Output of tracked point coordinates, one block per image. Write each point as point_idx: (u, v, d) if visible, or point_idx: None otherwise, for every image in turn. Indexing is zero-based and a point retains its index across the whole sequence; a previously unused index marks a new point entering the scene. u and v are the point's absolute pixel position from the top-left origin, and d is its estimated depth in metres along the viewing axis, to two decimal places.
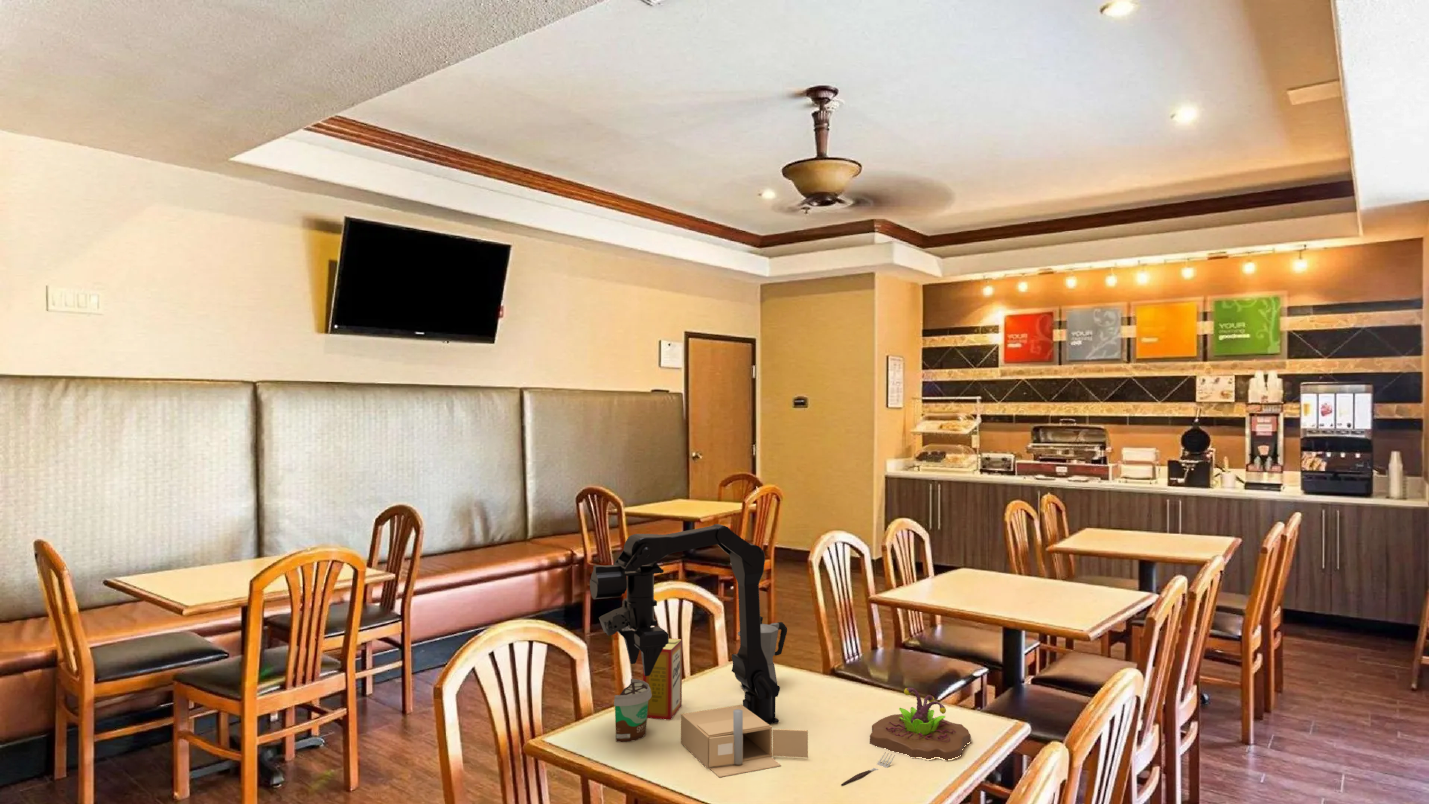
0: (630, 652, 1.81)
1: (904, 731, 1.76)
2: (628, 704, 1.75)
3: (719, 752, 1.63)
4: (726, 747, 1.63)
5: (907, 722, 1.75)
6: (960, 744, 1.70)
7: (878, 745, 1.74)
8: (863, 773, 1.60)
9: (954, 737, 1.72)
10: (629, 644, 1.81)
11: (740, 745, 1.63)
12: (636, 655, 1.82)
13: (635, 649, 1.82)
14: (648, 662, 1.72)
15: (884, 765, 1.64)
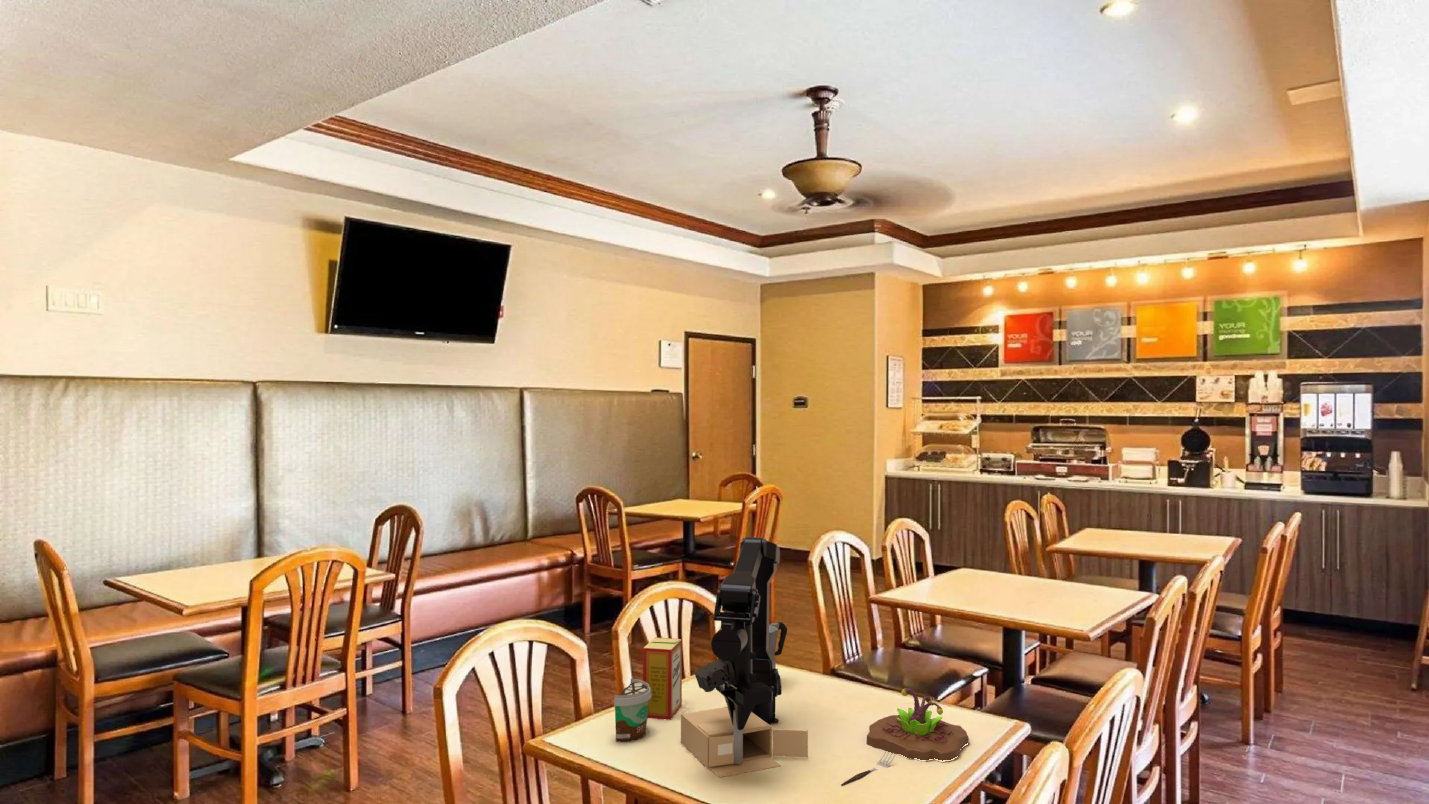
0: (732, 713, 1.65)
1: (901, 732, 1.75)
2: (628, 704, 1.75)
3: (719, 752, 1.63)
4: (726, 747, 1.63)
5: (904, 723, 1.75)
6: (957, 745, 1.69)
7: (875, 745, 1.73)
8: (863, 773, 1.60)
9: (951, 738, 1.71)
10: (731, 705, 1.65)
11: (740, 745, 1.63)
12: None
13: None
14: (742, 715, 1.62)
15: (884, 765, 1.64)
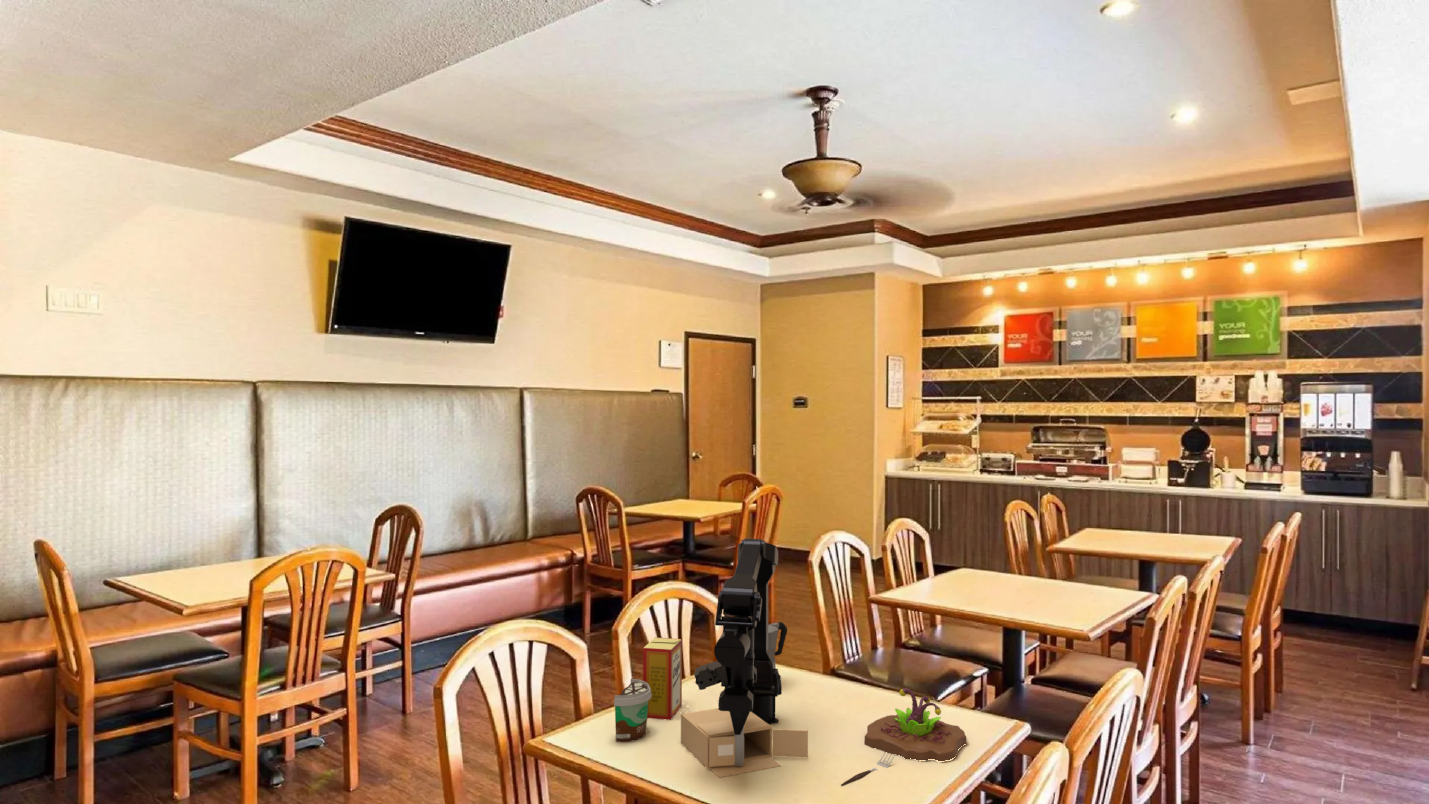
0: None
1: (899, 732, 1.75)
2: (628, 704, 1.75)
3: (719, 753, 1.62)
4: (726, 748, 1.62)
5: (902, 723, 1.74)
6: (955, 746, 1.69)
7: (873, 746, 1.73)
8: (863, 773, 1.60)
9: (949, 738, 1.71)
10: None
11: (741, 747, 1.62)
12: None
13: None
14: (736, 721, 1.60)
15: (884, 765, 1.64)
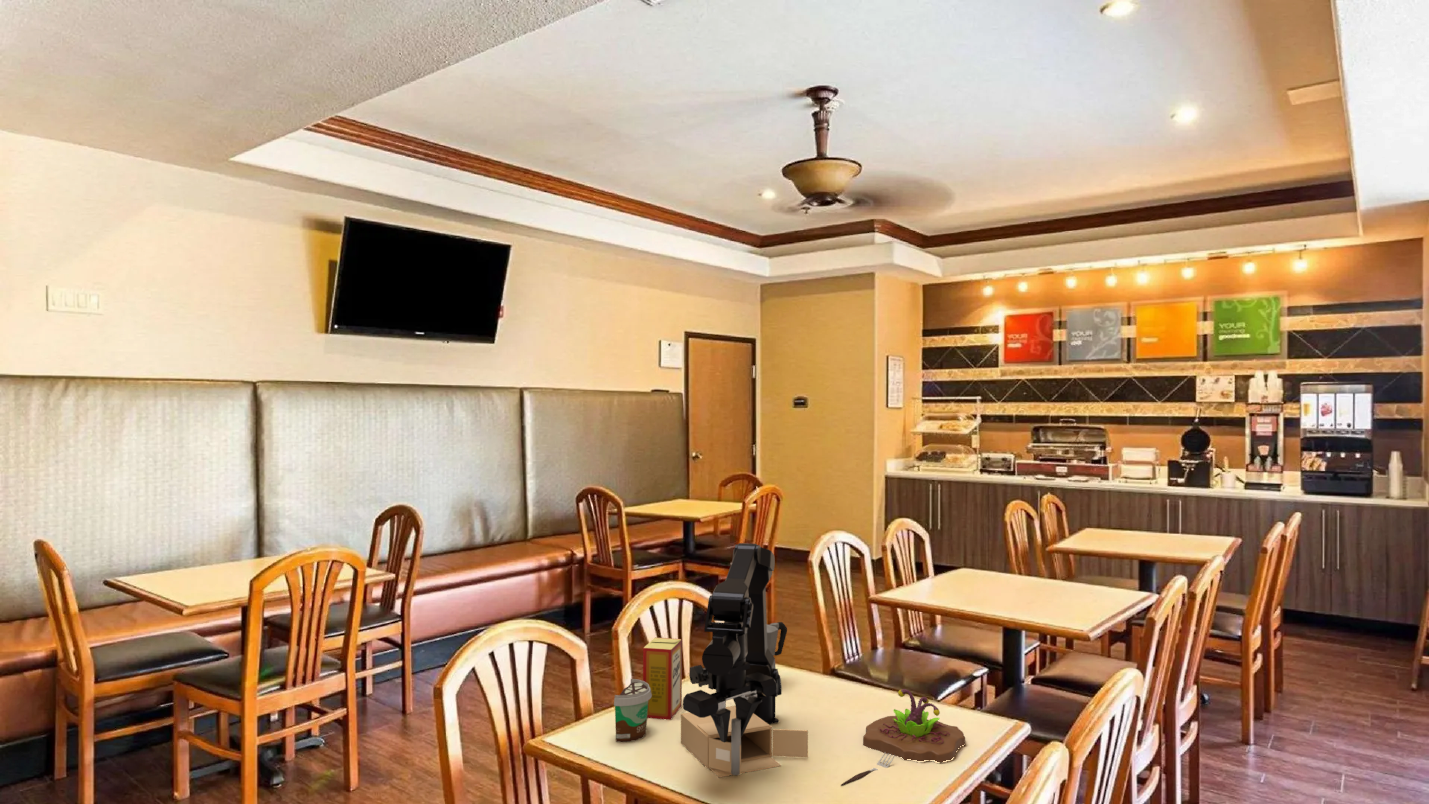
0: None
1: (898, 733, 1.75)
2: (628, 704, 1.75)
3: (717, 756, 1.61)
4: (723, 753, 1.60)
5: (901, 724, 1.74)
6: (953, 746, 1.69)
7: (871, 747, 1.73)
8: (863, 773, 1.60)
9: (947, 739, 1.71)
10: (737, 713, 1.61)
11: (734, 755, 1.58)
12: (741, 728, 1.59)
13: (741, 721, 1.60)
14: (718, 727, 1.57)
15: (884, 765, 1.64)
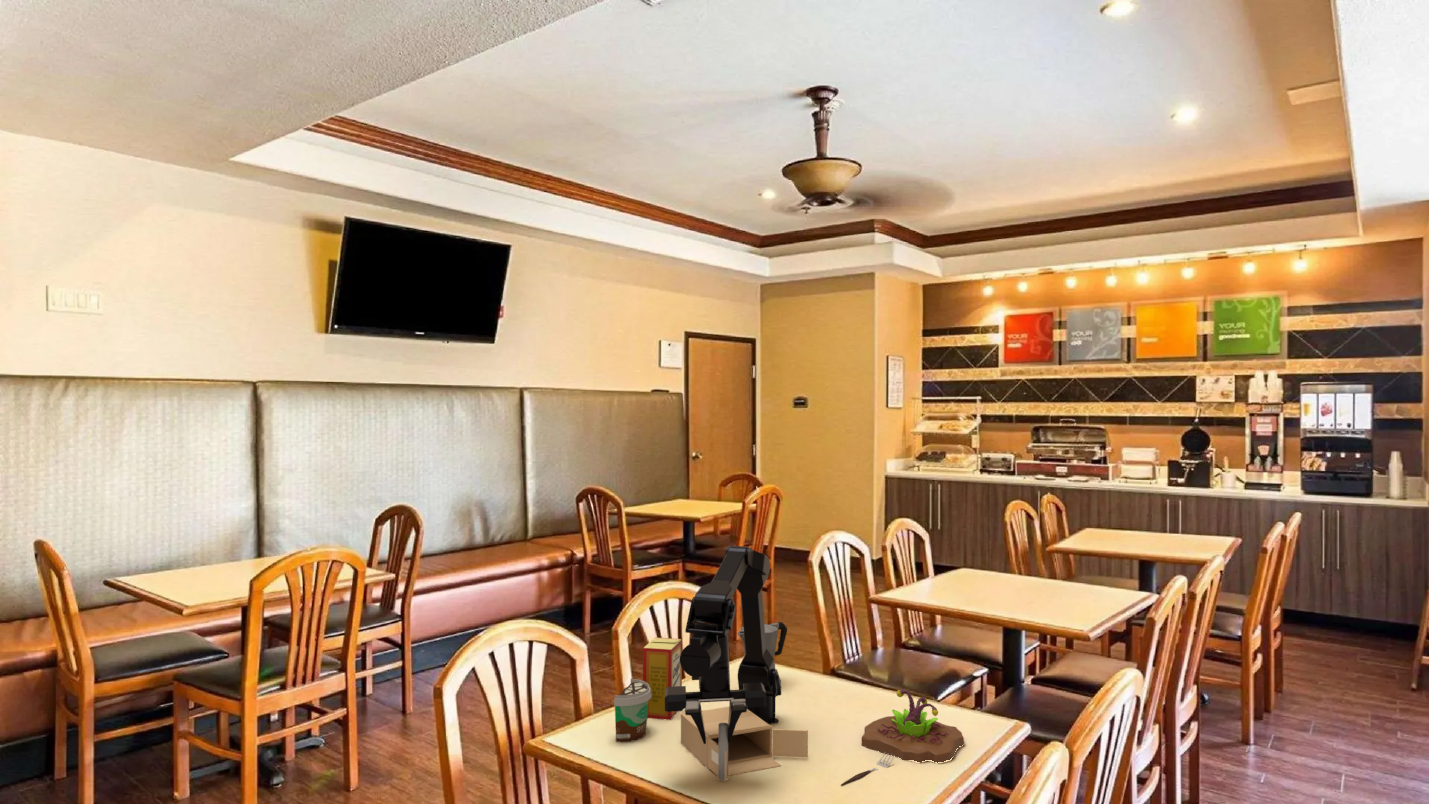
0: None
1: (896, 733, 1.74)
2: (628, 704, 1.75)
3: (712, 757, 1.60)
4: (715, 755, 1.59)
5: (899, 724, 1.74)
6: (952, 747, 1.69)
7: (870, 747, 1.72)
8: (863, 773, 1.60)
9: (946, 739, 1.71)
10: None
11: (719, 760, 1.56)
12: None
13: (728, 726, 1.57)
14: None
15: (884, 765, 1.64)
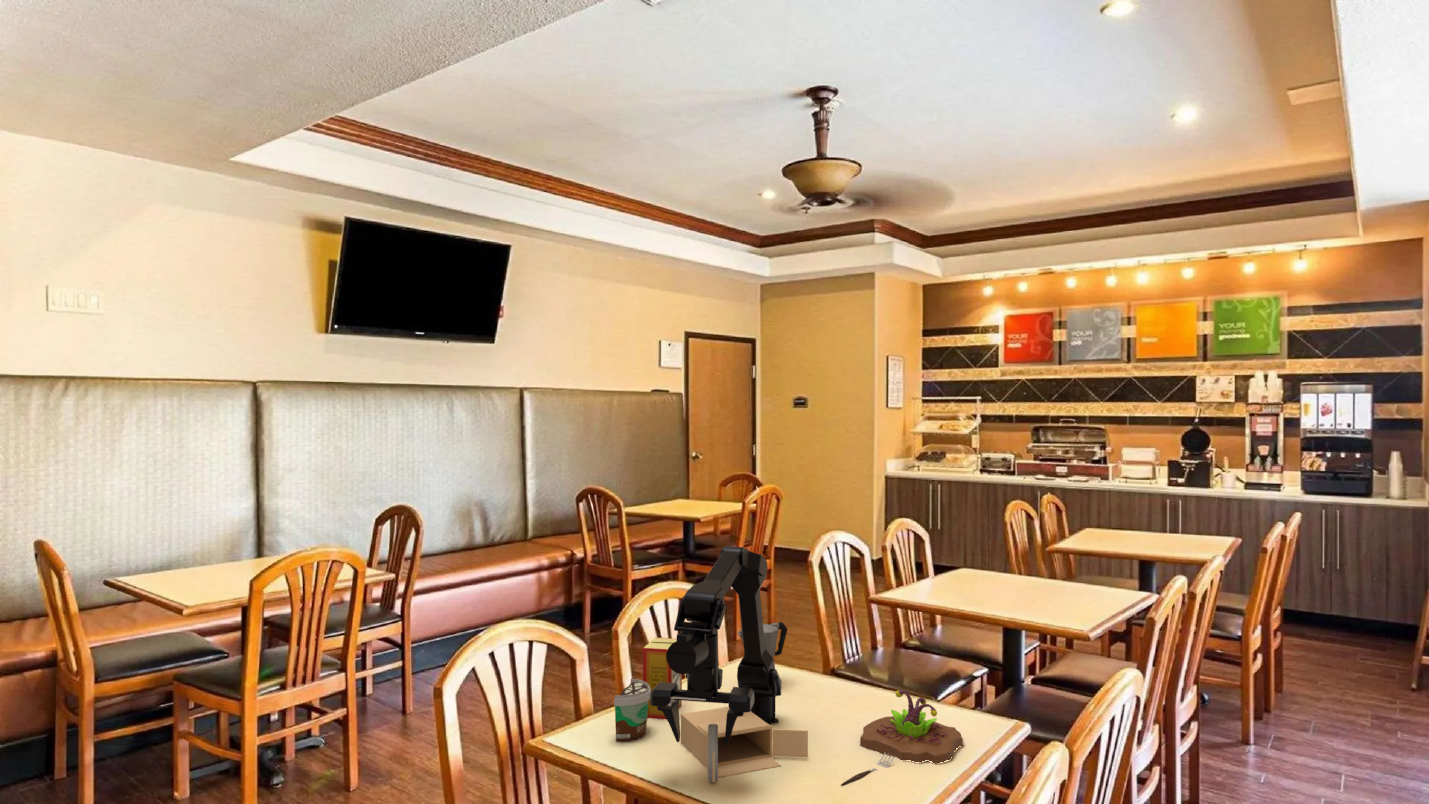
0: None
1: (895, 733, 1.74)
2: (628, 704, 1.75)
3: None
4: None
5: (898, 724, 1.74)
6: (951, 747, 1.68)
7: (868, 747, 1.72)
8: (863, 773, 1.60)
9: (945, 740, 1.70)
10: None
11: (708, 761, 1.56)
12: (725, 737, 1.55)
13: None
14: None
15: (884, 765, 1.64)
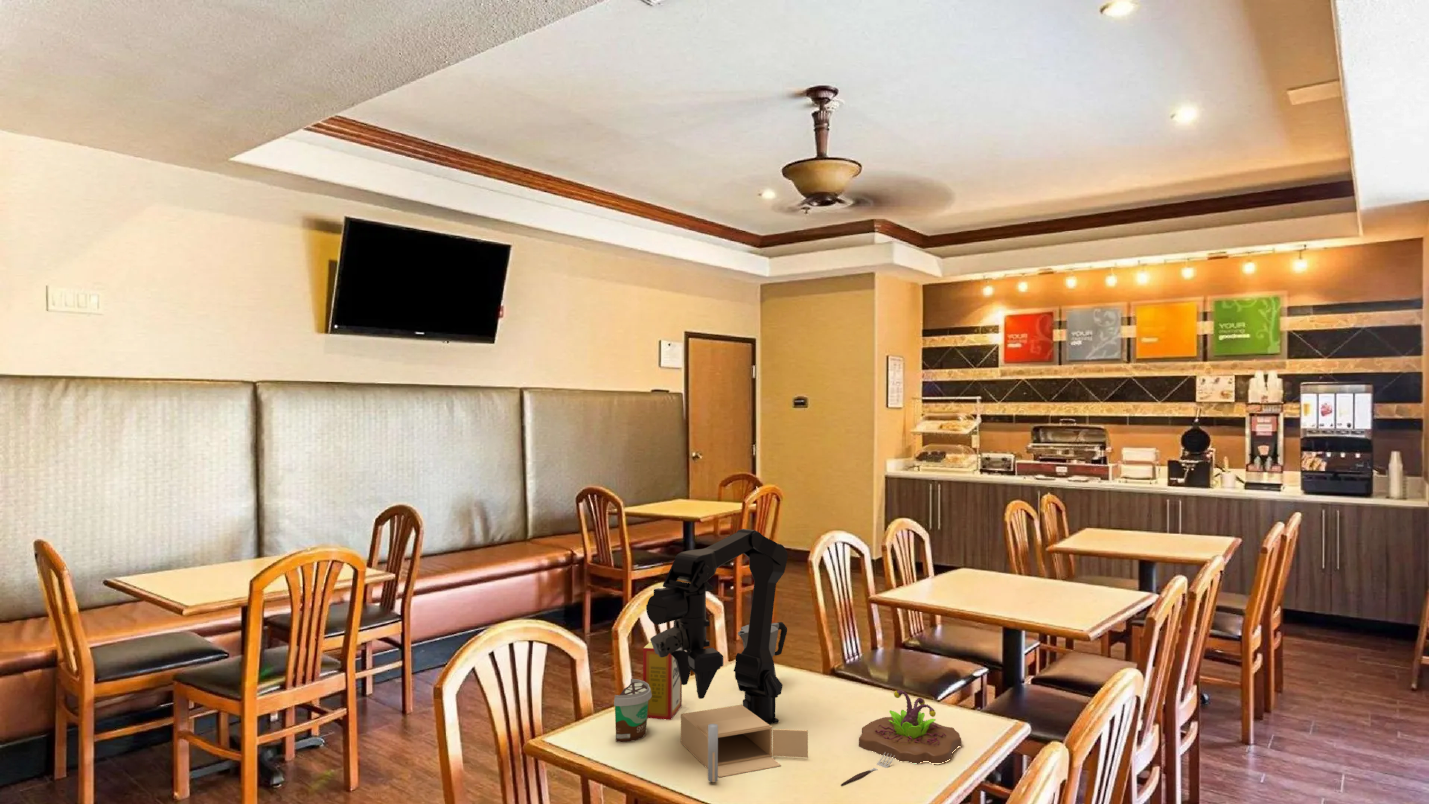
0: (681, 673, 1.76)
1: (893, 734, 1.74)
2: (628, 704, 1.75)
3: None
4: None
5: (896, 725, 1.73)
6: (949, 748, 1.68)
7: (867, 748, 1.72)
8: (863, 773, 1.60)
9: (943, 740, 1.70)
10: (680, 665, 1.76)
11: (708, 761, 1.56)
12: (687, 676, 1.77)
13: (686, 670, 1.77)
14: (702, 684, 1.67)
15: (884, 765, 1.64)
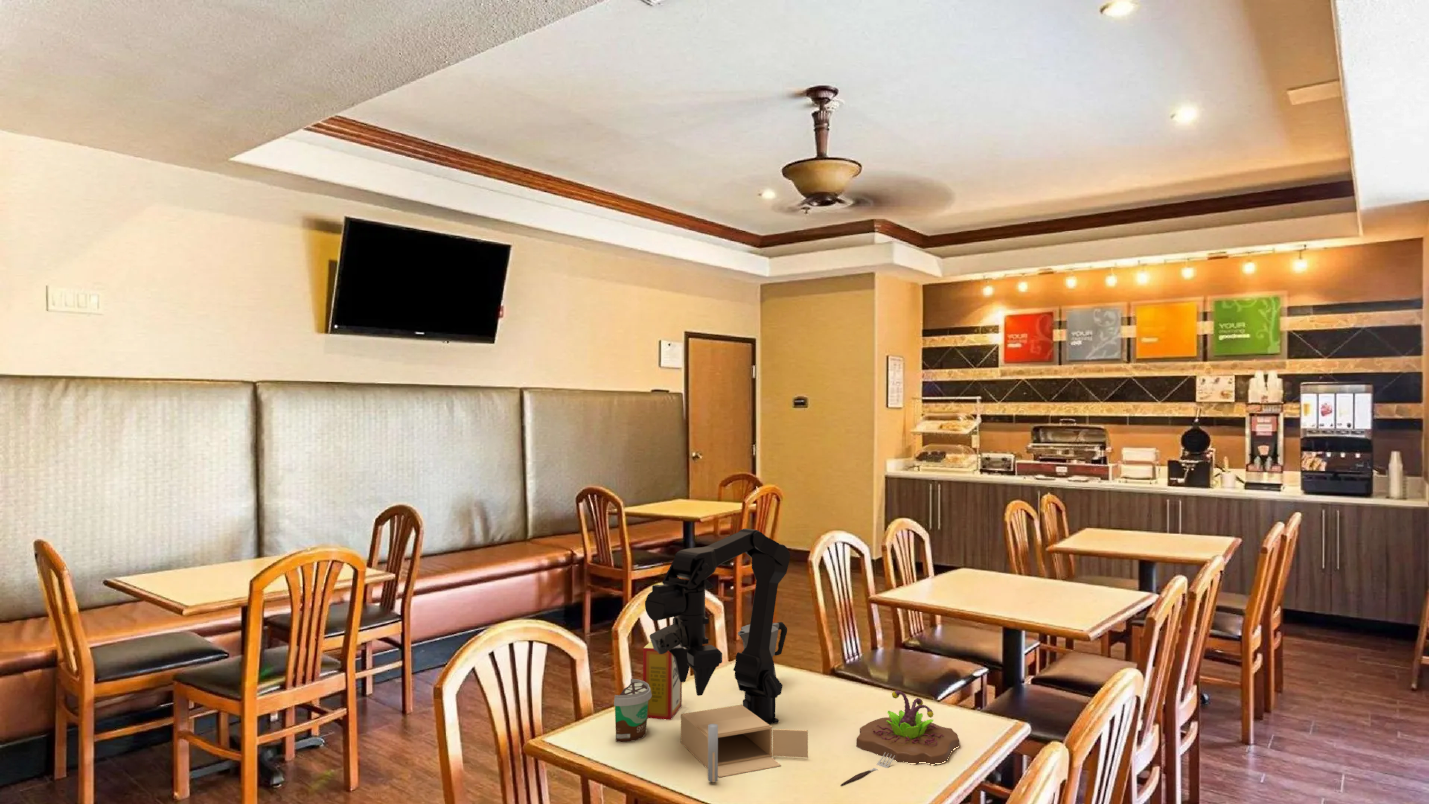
0: (680, 670, 1.77)
1: (891, 734, 1.74)
2: (628, 704, 1.75)
3: None
4: None
5: (894, 725, 1.73)
6: (947, 748, 1.68)
7: (864, 748, 1.72)
8: (863, 773, 1.60)
9: (941, 741, 1.70)
10: (678, 662, 1.77)
11: (708, 761, 1.56)
12: (686, 673, 1.78)
13: (685, 667, 1.78)
14: (701, 681, 1.68)
15: (884, 765, 1.64)
